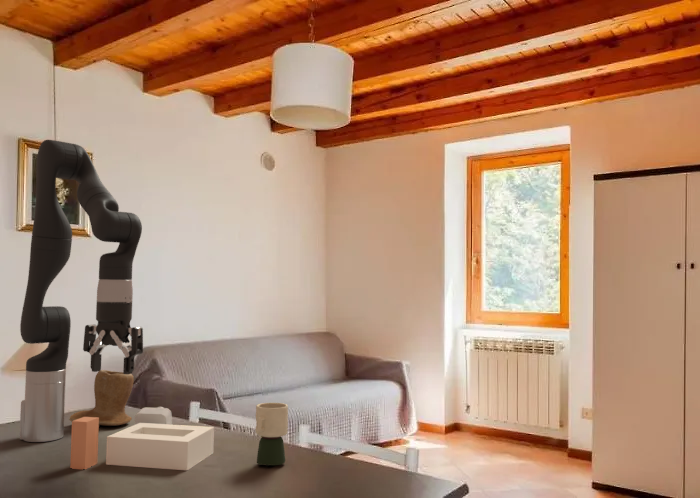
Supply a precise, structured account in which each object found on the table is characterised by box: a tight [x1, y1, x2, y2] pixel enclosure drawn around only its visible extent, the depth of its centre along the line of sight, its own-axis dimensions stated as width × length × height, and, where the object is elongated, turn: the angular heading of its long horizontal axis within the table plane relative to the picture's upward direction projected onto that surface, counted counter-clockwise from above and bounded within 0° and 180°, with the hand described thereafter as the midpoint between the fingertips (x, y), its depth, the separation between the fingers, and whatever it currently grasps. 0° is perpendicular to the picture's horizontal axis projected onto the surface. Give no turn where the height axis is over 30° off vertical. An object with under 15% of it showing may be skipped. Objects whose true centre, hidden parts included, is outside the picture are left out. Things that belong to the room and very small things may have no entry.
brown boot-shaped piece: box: [68, 369, 135, 427], centre depth 175 cm, size 15×12×15 cm
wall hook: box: [134, 406, 173, 425], centre depth 158 cm, size 8×10×10 cm
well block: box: [105, 423, 215, 471], centre depth 142 cm, size 19×14×6 cm
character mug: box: [255, 402, 289, 468], centre depth 138 cm, size 11×7×13 cm, turn 154°
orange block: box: [69, 417, 100, 470], centre depth 135 cm, size 4×4×10 cm
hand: (112, 372), depth 139 cm, fingers open, 8 cm apart
